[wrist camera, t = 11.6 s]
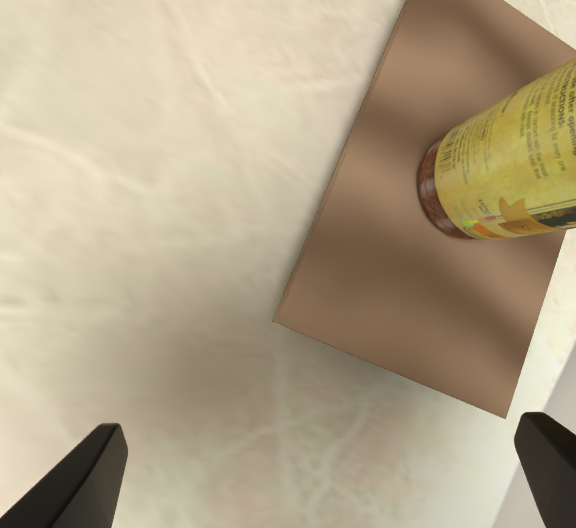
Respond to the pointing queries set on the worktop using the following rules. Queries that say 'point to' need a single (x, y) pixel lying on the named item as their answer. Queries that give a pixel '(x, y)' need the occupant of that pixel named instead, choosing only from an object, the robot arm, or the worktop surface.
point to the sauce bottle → (508, 165)
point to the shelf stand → (415, 221)
